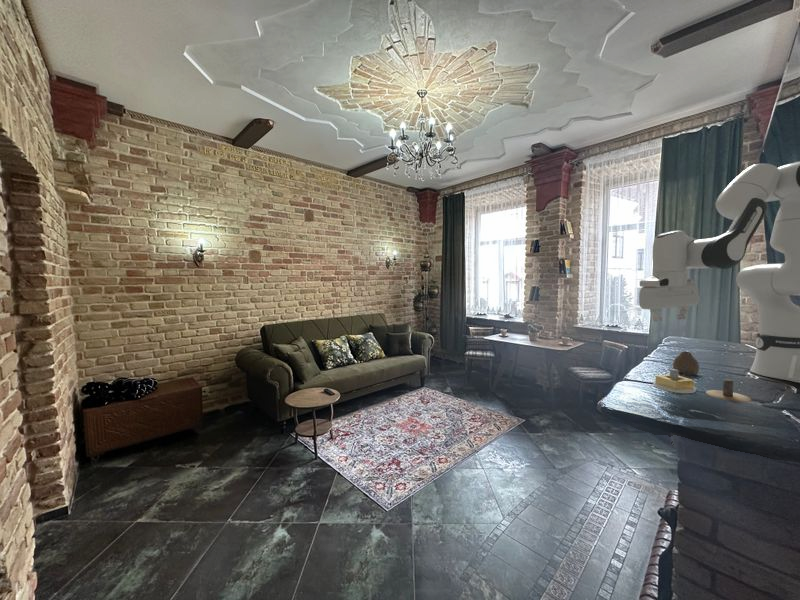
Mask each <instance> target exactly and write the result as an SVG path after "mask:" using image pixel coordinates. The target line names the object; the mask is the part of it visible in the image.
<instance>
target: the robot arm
mask: <svg viewBox="0 0 800 600" xmlns="http://www.w3.org/2000/svg"><path fill="white" fill-rule="evenodd" d="M777 201H779V204H780V205H779V206H780V207H779V209H778V211H777V213H776V216H775V219H774V223H773V227H772V231H771V236H770V240H769V245H770V247H771V248H772V249H773V250H774V251H777V252H778V253H782V254H783V255H784V262H782V263H781V262H780V263H760V264H756V265H751V266H750V265H749V266H746V267H744V268H742V269H741V270H740V271H739V272H738V273H737V275H736V284H737V287H738V288H739V289H740V290H741V291H743V292H744V293H746V294H747V295H748V296H749V298H750V299H751V300H752V301H753V303H754V305H755V307H756V309H757V313H758V332H757V333H756V339H755V347H756V352H755V356H754V361H753V362H752V365H751V367H750V369H749V371H750V372H752V373H754V374H757V375H759V376H762V377H763V376H764V377H769V378H774V379H779V380H785V381H790V382H794V383H798V384H800V307H799V306H797V305H796V304H794V303H793V302H792V300H791V298H790V296H797V297H798V296H799V297H800V161H795V162H791V163H787V164H784V165H783V164H782V165H780V166H776V165H773V164H770V163H757V164H752V165H750V166H749V167H747V168H746V169H744V170H742V172H741V173H739V174H738V175H737V176H735V178H734V179H732V180H731V182H729V184H727V186H726V187H725V188H724V189H722V192H721V193H720V194H719V195H718V197H717V198H716V200H715V208H716V211H717V212H718V214H720V215H721V216H722V217H724V218H726V219H728V220H730V221H731V220H732V223H731V225H730V226H729V228H728V229H727V231H725V232H724V233H723V234H721V235H717V236H715V237H709V238H700V239H698V238H694V237H691V236H689V235H688V234H686V233H685V230H680V229H678V230H671V231H668V232H663V233H660V234H658V235H656V236H654V237H655V238H654V240H653V244H652V262H653V269H652V275H650V276H648V277H646V278H644V279H641V280H639V286H640V287H641V288H640V289H639V295H638V298H639V299H638V303H639V307H640V308H641V309H642V310H649V312H650V314H651V315H652V318H653V322H654V323H661V322H663V316H660V312H661V311H660V310H661V309H672V308H679V311H678V312H679V313H676V319H677V320H679V321H681V320H682V321H683V320H686V319H687V314H688V313H689V310H690V307H692V306H693V307H694V306H698V305H699V303H700V292H699V287H698V285H697V281H695V280H694V279H693V278H688V269H690V270H691V269H696V270H697V269H715V270H716V269H717V270H728V269H732V268H734V267H736V266H737V265H738V264H740V262H741V261H742V260H743V259H744V257H745V255H746V253H747V249H748V245H749V243H750V241H751V240H752V238H753V237H754V235H755V233H756V232H757V230H758V228H759V227H760V225H761V223H762V221H763V219H764V218H765V215H766V213H767V210H768V208H767V207H768V206H767V203H769V202H777Z"/></svg>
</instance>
